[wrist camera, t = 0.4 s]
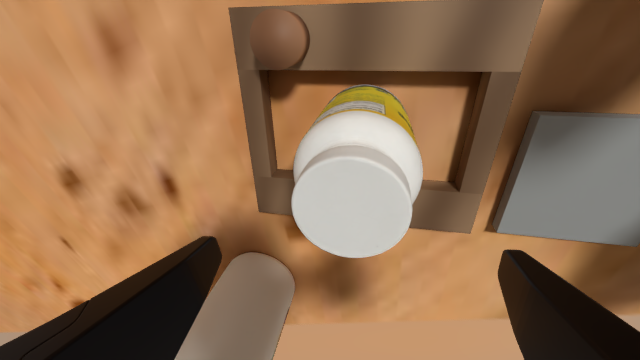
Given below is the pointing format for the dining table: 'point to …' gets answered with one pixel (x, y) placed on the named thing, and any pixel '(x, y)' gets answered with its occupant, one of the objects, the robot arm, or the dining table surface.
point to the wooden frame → (388, 55)
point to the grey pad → (575, 179)
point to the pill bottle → (357, 174)
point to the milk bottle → (242, 312)
